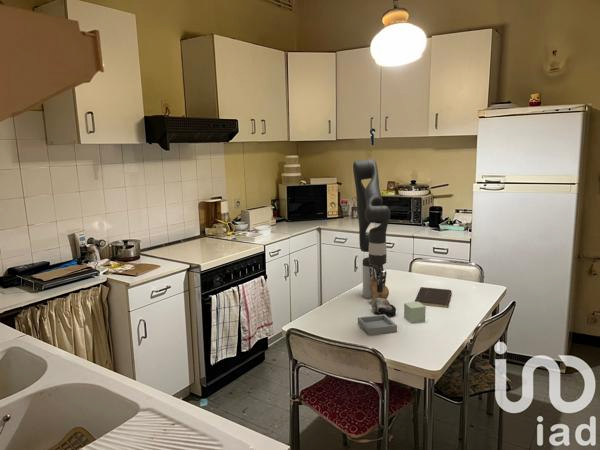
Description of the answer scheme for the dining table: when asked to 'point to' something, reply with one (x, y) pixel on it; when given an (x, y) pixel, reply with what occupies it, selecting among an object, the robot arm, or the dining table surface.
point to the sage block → (414, 312)
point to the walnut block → (375, 286)
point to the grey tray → (377, 324)
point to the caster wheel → (383, 307)
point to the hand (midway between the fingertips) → (377, 290)
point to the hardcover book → (434, 297)
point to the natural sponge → (381, 294)
